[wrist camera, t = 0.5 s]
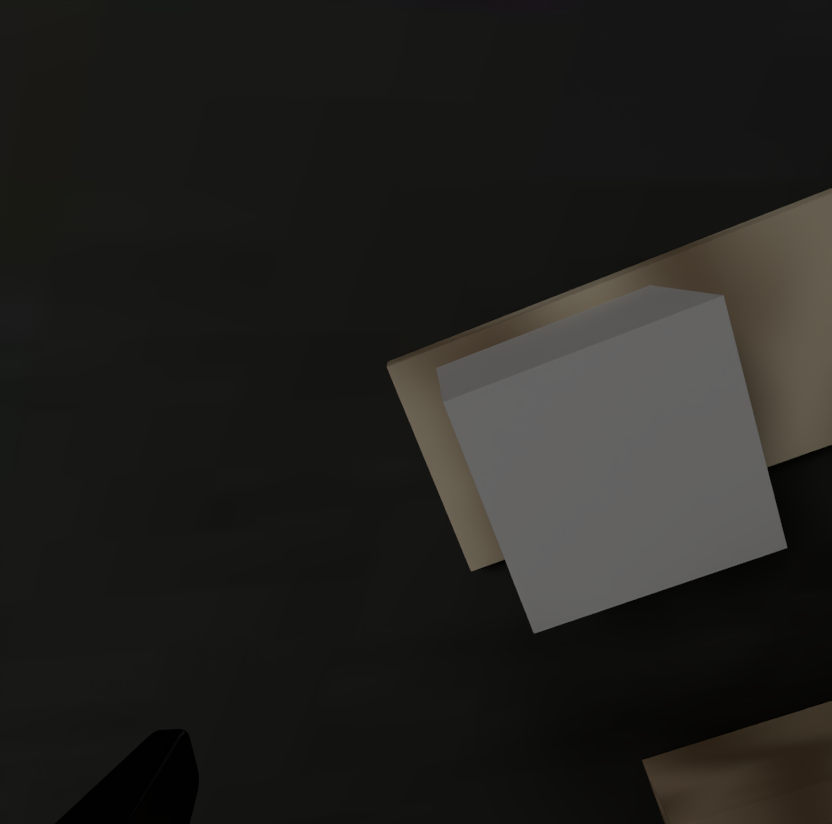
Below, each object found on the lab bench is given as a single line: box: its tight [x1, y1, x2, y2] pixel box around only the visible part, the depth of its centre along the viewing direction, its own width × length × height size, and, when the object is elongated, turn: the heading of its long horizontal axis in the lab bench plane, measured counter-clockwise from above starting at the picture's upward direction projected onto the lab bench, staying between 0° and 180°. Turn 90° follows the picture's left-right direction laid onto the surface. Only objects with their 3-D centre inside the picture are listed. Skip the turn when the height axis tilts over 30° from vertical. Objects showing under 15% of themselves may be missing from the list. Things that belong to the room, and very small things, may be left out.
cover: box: [436, 285, 787, 633], centre depth 17 cm, size 7×7×4 cm
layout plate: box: [387, 188, 832, 571], centre depth 20 cm, size 18×8×1 cm, turn 111°
